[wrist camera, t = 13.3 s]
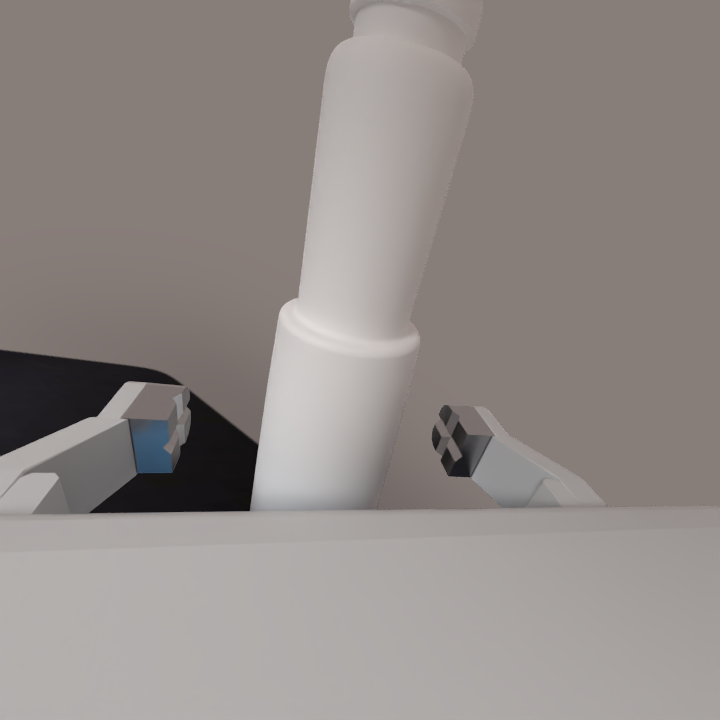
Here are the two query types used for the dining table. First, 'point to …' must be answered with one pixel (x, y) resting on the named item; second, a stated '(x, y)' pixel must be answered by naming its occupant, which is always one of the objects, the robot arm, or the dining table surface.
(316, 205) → the cosmetic bottle
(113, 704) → the robot arm
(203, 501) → the dining table surface
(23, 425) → the dining table surface
